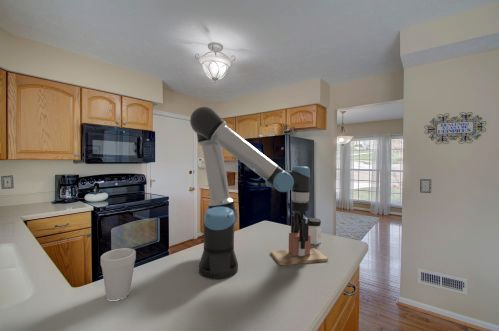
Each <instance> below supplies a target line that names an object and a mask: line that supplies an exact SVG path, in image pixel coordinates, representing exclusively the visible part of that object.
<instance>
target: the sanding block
mask: <svg viewBox="0 0 499 331" xmlns="http://www.w3.org/2000/svg"><path fill="white" fill-rule="evenodd" d="M298 240H300V237H299V233H291V232H289V233H288V250H289V254H290V255H291V256H292V257H304V256H298V245H299V241H298ZM310 248H311V244H310V235H309V234H308V241H305V256H310Z"/></svg>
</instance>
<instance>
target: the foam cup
mask: <svg viewBox="0 0 499 331" xmlns="http://www.w3.org/2000/svg"><path fill="white" fill-rule="evenodd" d="M136 254H137V251H136V250H135V249H134V248H128V247H122V248H115V249H112V250H109V251H106V252H104V253H102V255H101V256H100V267H101V270H102V277H103V284H104V290H105V291H104V292H105V297H106V300H107V299H109V300H117V299H121V298H124V297H126V296H127V295H129V296H130V294H131V289H132V282H133V275H134V268H135V262H136V259H137V255H136ZM129 293H130V294H129ZM126 298H127V297H126Z"/></svg>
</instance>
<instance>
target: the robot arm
mask: <svg viewBox="0 0 499 331" xmlns="http://www.w3.org/2000/svg"><path fill="white" fill-rule="evenodd" d="M189 123H190V127H191V128H192V131H194V132H195V133H196V138H197V143H198V145H199V146H201V147H202V151H203V152H202V155H203V159H204V165H205V172H206V173H205V174H206V178H207V183H208V185H207V186H208V191H209V196H210V201H209V202H208V204H207V206H208V209H206V211H205V213H204V216H203V251H202V254H201V256H200V257H201V258H200V261H199V262H198V273H199V275H200V276H202V277H204V278H206V279H209V280H223V279H224V280H225V279H227V278H230V277H232V276H235V275H236V274H237V272H238V270H239V262H238V259H237V256H236V252H235V245H234V244H235V227H236V224H237V222H238V212H237V209H236V206H235V200H234V199H233V198H232V197H231V196H230V189H229V183H228V176H227V170H226V163H225V157H224V152H223V149H224V150H225V151H227V152H228V153H230V154H231V155H232V156H233V157H235V159H238V160H239V161H240V162H241V163H242V164H244V165H246V167H248V168H249V169H250V170H251V171H253V172H254V173H255V174H257V175H258V176H259V177H261V178H262V179H263V180H265V186H266V187H267V188H268V187H270V188H275V189H276V190H277V191H278V192H280V193H286V192H290V191H291V200H292V201H291V210H292V211H291V212H290V215H291V218H290V219H291V220H290V233H299V237H300V240H298V241H299V245H298V256H305V241H308V230H309V218H310V217H307V214H306V213H307V212H308V211H309V209H310V208H309V207H310V202H309V201H310V185H311V184H310V183H311V182H310V181H311V169H310V167H309V166H298V165H297V166H296V165H295V166H293V167H292V170H284V169H283V168H281V167H280V166H279V165H278V164H277V163H276V162H274V161H273V160H272V159H270V158H269V157H267V156H266V155H265V154H263V152H261V151H260V150H258V149H257V148H256V147H255V146H253V145H252V144H251V143H250V142H248V141H247V140H245V138H243V137H241V135H239V134H238V133H237V132H236V131H234V130H233V129H232V128H230V127H229V126H228V124H227V122H226V121H225V119H223V118H222V117H220V115H219V114H217V112H216V110H214V109H213V108H211V107H208V106H201V107H198V108H196V109H194V111H193V112H192V113H191V115H190V118H189Z"/></svg>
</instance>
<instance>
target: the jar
mask: <svg viewBox="0 0 499 331" xmlns="http://www.w3.org/2000/svg"><path fill="white" fill-rule="evenodd" d="M308 218H309V230H308V234H309V235H310V245H314V246H315V245H316V246H317V245H319V244H321V243H322V221H321V219H320V218H317V217H308Z"/></svg>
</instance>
